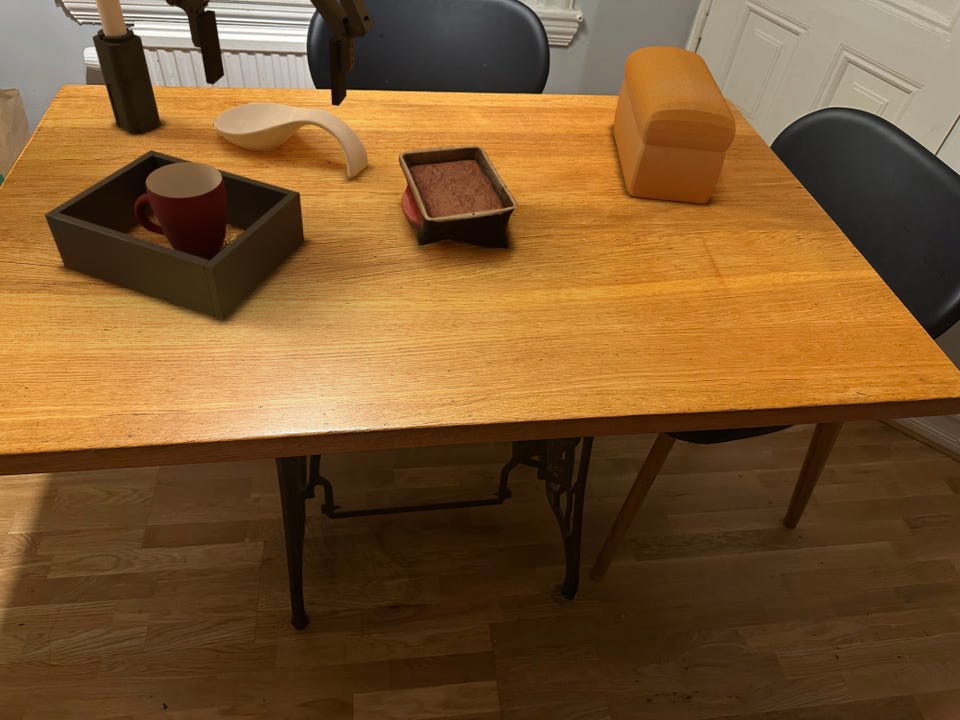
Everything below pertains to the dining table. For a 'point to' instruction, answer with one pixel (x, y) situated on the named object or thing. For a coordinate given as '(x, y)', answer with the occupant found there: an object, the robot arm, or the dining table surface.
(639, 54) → the bread
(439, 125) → the dining table surface
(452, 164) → the baking dish
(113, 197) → the dark rectangular frame
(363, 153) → the spoon rest
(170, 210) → the mug
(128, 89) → the candle
